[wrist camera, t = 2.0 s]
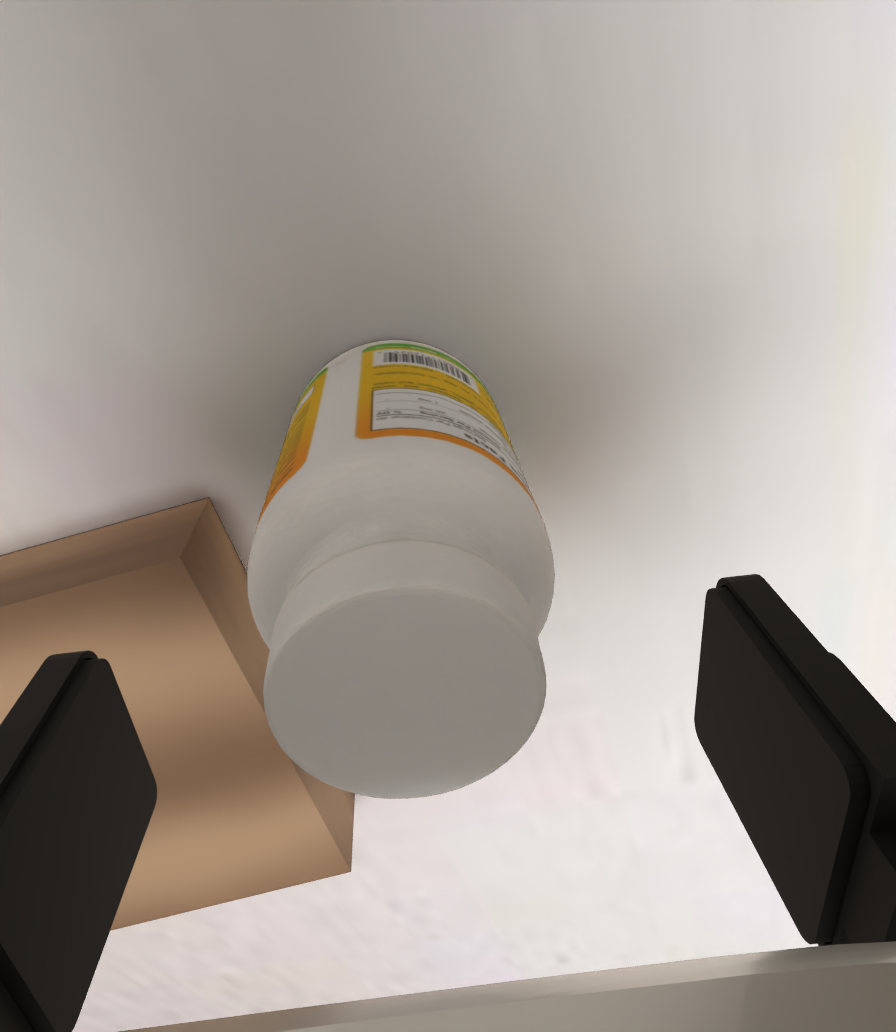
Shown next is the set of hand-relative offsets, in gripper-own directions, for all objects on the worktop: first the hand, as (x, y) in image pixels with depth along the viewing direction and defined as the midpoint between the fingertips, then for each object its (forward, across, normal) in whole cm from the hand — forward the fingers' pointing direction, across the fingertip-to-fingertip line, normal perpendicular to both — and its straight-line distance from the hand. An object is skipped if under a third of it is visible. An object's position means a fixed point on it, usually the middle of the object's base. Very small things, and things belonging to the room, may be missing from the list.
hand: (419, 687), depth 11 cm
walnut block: (+9, +10, +7) cm, 15 cm away
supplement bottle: (+9, 0, -1) cm, 9 cm away
